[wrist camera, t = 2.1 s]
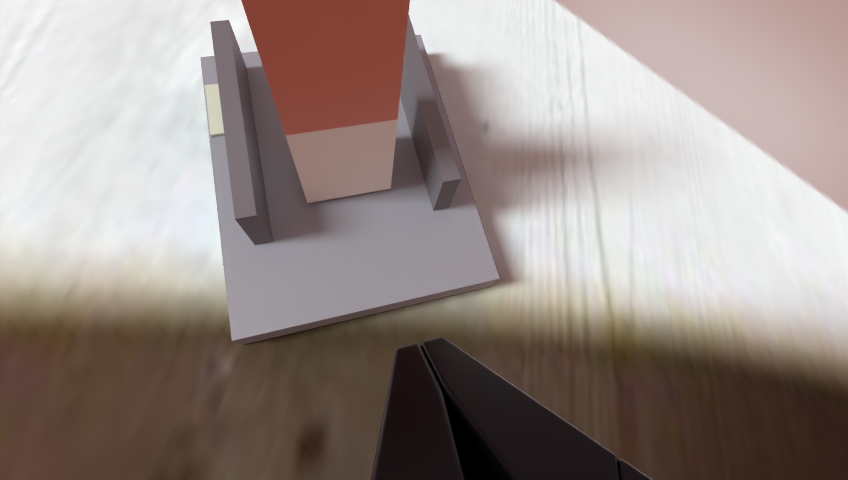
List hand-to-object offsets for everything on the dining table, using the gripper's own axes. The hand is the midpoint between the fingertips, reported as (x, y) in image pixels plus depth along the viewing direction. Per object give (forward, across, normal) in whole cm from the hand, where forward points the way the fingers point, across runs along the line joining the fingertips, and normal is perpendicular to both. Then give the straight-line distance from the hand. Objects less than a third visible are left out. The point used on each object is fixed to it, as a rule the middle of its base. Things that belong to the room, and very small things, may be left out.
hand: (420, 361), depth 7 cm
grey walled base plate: (+16, 0, +1) cm, 16 cm away
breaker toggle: (+15, 0, 0) cm, 15 cm away
